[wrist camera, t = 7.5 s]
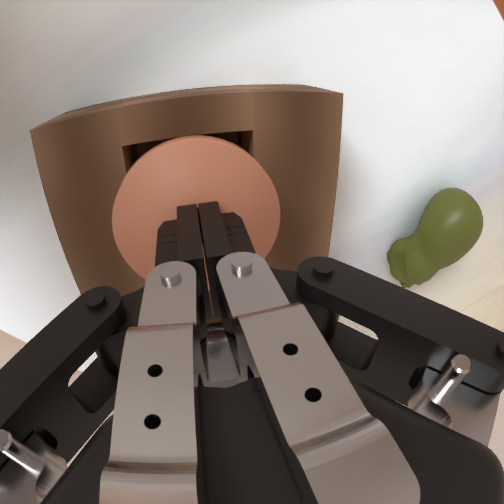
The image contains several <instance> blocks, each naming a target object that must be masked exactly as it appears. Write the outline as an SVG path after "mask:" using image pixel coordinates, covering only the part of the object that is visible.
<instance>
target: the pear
mask: <svg viewBox="0 0 504 504" xmlns="http://www.w3.org/2000/svg"><path fill="white" fill-rule="evenodd" d="M482 228H483V216H482V212H481V209H480V207H479V205H478V203H477V202H476V201H475V199H474V198H473V197H472V196H471V195H470V194H468V193H467V192H465V191H463V190H461V189H458V188H446V189H443V190H441V191H439V192H438V193H436V194H435V195H434V196H433V197H432V199H431V200H430V201H429V203H428V205H427V206H426V208H425V211H424V213H423V215H422V218H421V220H420V223H419V226H418V228H417V230H416V231H415V232H414V234H413V235H412V236H410V237H407V238H403V239H400V240H397V241H396V242H394V243H393V245H392V246H391V249H390V250H389V251H388V252H387V257H388V261H389V262H390V269H391V274H392V275H393V277H395V278H396V279H397V280H399V281H400V283H401V285H402V287H403V288H405V287H408V288H410V287H411V286H412V285H414V284H417V285H419V284H421V283H424V282H426V281H428V280H429V279H431V278H432V277H433V276H434V275H435V274H436V273H437V272H438V271H439V270H440V269H442V268H444V267H447V266H449V265H451V264H453V263H455V262H456V261H458V260H459V259H460V258H462V257H463V256H464V255H465V254H466V253H467V252H468V251H469V250H470V249H471V248H472V247H473V246H474V245H475V243H476V242H477V240H478V239H479V237H480V235H481V232H482Z"/></svg>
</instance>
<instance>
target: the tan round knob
mask: <svg viewBox="0 0 504 504" xmlns="http://www.w3.org/2000/svg"><path fill="white" fill-rule="evenodd" d="M213 201H218V204H219V207H220V211H221V213H230V212H234V213H236V214H237V215H238V216H240V217H241V218H242V220H243V222H244V225H245V227H246V230H247V233H248V235H249V237H250V239H251V242H252V244H253V247H254V249H255V252H256V254H257V255H259V256H261V257H262V258H264V259H265V257H266V256H267V254H268V253H269V252H270V250H271V248H272V246H273V244H274V242H275V239H276V237H277V234H278V230H279V226H280V203H279V198H278V195H277V192H276V189H275V187H274V185H273V183H272V181H271V179H270V177H269V176H268V175H267V173H266V172H265V171H264V169H263V168H262V167H261V166H260V164H259V163H258V162H257V161H256V160H255V159H254V158H253V157H252V156H251V155H250V154H249V153H248V152H246V151H245V150H244V149H242V148H241V147H239V146H237V145H235V144H234V143H232V142H229V141H226V140H224V139H220V138H216V137H211V136H201V135H195V136H184V137H179V138H175V139H172V140H169V141H166V142H163V143H161V144H159V145H157V146H155V147H153V148H152V149H151V150H149V151H148V152H146V153H145V154H144V155H142V156H141V157H140V158H139V159H138V160H137V161H136V162H135V163H134V165H133V166H132V167H131V168H130V169H129V171H128V173H127V174H126V176H125V177H124V180H123V182H122V184H121V186H120V189H119V191H118V193H117V196H116V198H115V202H114V206H113V212H112V229H113V234H114V239H115V242H116V245H117V247H118V249H119V251H120V253H121V255H122V257H123V258H124V259H125V261H126V262H127V264H128V265H129V266H130V267H131V268H132V269H133V270H134V271H135V272H136V273H137V274H139V275H140V276H141V277H143V278H144V279H146V278H147V275H148V274H149V272H150V271H151V270H152V269H153V268H155V255H156V246H157V245H156V242H157V231H158V228H159V227H160V226H161V224H162V223H163V222H164V221H169V220H176V219H177V206H182V205H190V204H196V206H197V213H198V221H199V228H200V234H201V226H200V218H199V209H198V203H205V202H213ZM201 241H202V235H201ZM202 248H203V243H202ZM203 255H204V250H203ZM204 262H205V257H204ZM205 269H206V263H205ZM206 276H207V270H206ZM207 284H208V291H210V288H209V282H208V276H207Z"/></svg>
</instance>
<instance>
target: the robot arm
mask: <svg viewBox="0 0 504 504" xmlns="http://www.w3.org/2000/svg"><path fill="white" fill-rule="evenodd" d="M198 209H199V218H200V226H201V234H200V228H199V221H198V213H197V206H196V204H190V205H182V206H177V219H176V220H169V221H164V222H163V223H162V224H161V226H160V227H159V228H158V231H157V242H156V245H157V246H156V255H155V268H153V269H152V270H151V271H150V272H149V274H148V275H147V278H146V283H145V286H144V287H142V288H141V289H139V290H137V291H134V292H132V293H129V294H126V295H124V296H121V295H120V293H119V291H118V290H117V289H115V288H113V287H109V286H99V287H95V288H92V289H90V290H88V291H86V292H85V293H83V294H82V295H81V296H80V297H78V298H77V299H76V300H75V301H74V302H73V303H71V304H70V305H69V306H68V307H67V308H66V309H65V310H63V311H62V312H61V313H60V314H59V315H58V316H57V317H55V318H54V319H53V320H52V321H51V322H50V323H49V324H48V325H47V326H45V327H44V328H43V329H42V330H41V331H40V332H39V333H38V334H37V335H36V336H35V337H34V338H32V339H31V340H30V341H29V342H28V343H27V344H26V345H25V346H24V347H23V348H22V349H21V350H20V351H19V352H18V353H17V354H16V355H15V356H14V357H13V358H12V359H11V360H10V361H9V362H7V363H6V365H4V367H2V368H1V369H0V504H504V471H503V467H502V465H501V463H500V461H499V459H498V458H497V456H496V455H495V454H494V453H493V452H492V450H491V449H489V448H488V443H489V440H490V437H491V433H492V429H493V425H494V421H495V416H496V412H497V407H498V402H499V397H500V393H501V391H502V390H503V389H504V332H501V331H499V330H497V329H495V328H493V327H490V326H488V325H486V324H484V323H482V322H479V321H477V320H475V319H473V318H471V317H468V316H466V315H464V314H462V313H459V312H457V311H455V310H453V309H450V308H448V307H446V306H443V305H441V304H439V303H437V302H434V301H432V300H430V299H427V298H425V297H423V296H421V295H418V294H416V293H414V292H411V291H409V290H407V289H404V288H402V287H400V286H397V285H395V284H393V283H390V282H388V281H385V280H383V279H381V278H378V277H376V276H374V275H371V274H369V273H366V272H364V271H362V270H359V269H357V268H354V267H352V266H350V265H347V264H345V263H342V262H340V261H337V260H335V259H332V258H329V257H322V256H317V257H310V258H307V259H305V260H303V261H302V262H301V263H300V264H299V266H298V269H297V271H288V270H278V269H274V268H271V267H269V266H268V264H267V262H266V261H265V259H264V258H262V257H261V256H259V255H257V254H256V252H255V249H254V247H253V244H252V242H251V239H250V237H249V235H248V233H247V230H246V227H245V225H244V222H243V220H242V218H241V217H240V216H238V215H237V214H236V213H234V212H230V213H221V211H220V207H219V204H218V201H213V202H205V203H198ZM201 235H202V241H201ZM202 243H203V248H202ZM203 250H204V255H203ZM204 257H205V262H204ZM205 263H206V269H205ZM206 270H207V276H208V282H209V288H210V294H211V299H212V305H213V311H214V316H215V318H219V317H222V322H223V328H224V336H225V340H226V343H227V346H228V349H229V352H230V356H231V359H232V362H233V365H234V368H235V371H236V374H237V377H238V380H239V383H238V384H236V385H234V386H231V387H226V388H220V387H211V382H210V368H209V352H208V338H207V332H208V326H207V320H206V319H213V318H212V311H211V304H210V298H209V291H208V284H207V276H206ZM339 315H341V316H343V317H345V318H347V319H349V320H352V321H354V322H356V323H358V324H360V325H362V326H364V327H366V328H368V329H370V330H372V331H373V332H374V333H375V334H376V335H377V337H378V340H376V339H373V338H371V337H369V336H367V335H365V334H363V333H361V332H359V331H357V330H355V329H353V328H351V327H348V326H346V325H344V324H342V323H340V322H338V319H339ZM94 352H96V354H97V356H98V357H97V358H96V359H95V360H94V361H93V362H92V363H91V364H90V365H89V366H88V368H87V369H86V370H85V371H84V372H83V373H82V374H81V375H80V376H79V377H78V378H77V379H76V380H75V381H74V382H73V383H72V384H71V385H70V386H69V387H68V382H69V379H70V377H71V376H72V374H73V373H74V372H75V371H76V370H77V369H78V368H79V367H80V366H81V365H82V364H83V363H84V362H85V361H86V360H87V359H88V358H89V357H90V356H91V355H92V354H93V353H94ZM392 399H393V400H392ZM394 400H395V401H394ZM396 401H397V402H396ZM398 402H399V403H398ZM400 403H401V404H400ZM402 404H403V405H402ZM404 405H405V406H404ZM406 406H407V407H406ZM113 410H114V414H113V415H112V416H110V417H109V418H108V419H107V420H106V421H105V422H104V423H103V424H102V422H103V421H104V420H105V419H106V418H107V417H108V415H109V414H110V413H111V412H112V411H113ZM101 424H102V425H101ZM100 425H101V427H99V426H100ZM98 427H99V429H98V430H97V431H96V429H97V428H98ZM95 431H96V433H95V434H94V435H93V436H92V438H91V439H90V440H89V441H88V443H87V444H86V445H85V446H84V448H83V449H82V450H81V452H80V453H79V454H78V455H77V457H76V458H75V459H74V460H73V462H72V463H71V464H70V466H69V467H67V463H68V462H69V461H70V460H71V459H72V458H73V456H74V455H75V454H76V453H77V452H78V450H79V449H80V448H81V447H82V446H83V445H84V443H85V442H86V441H87V440H88V439H89V438H90V436H91V435H92V434H93V433H94V432H95Z"/></svg>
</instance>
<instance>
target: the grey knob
mask: <svg viewBox="0 0 504 504" xmlns="http://www.w3.org/2000/svg"><path fill="white" fill-rule="evenodd" d="M207 326H208V332H207V338H208V352H209V368H210V382H211V387H220V388H226V387H231V386H234V385H236V384H238V383H239V380H238V377H237V374H236V371H235V368H234V365H233V362H232V359H231V356H230V352H229V349H228V346H227V343H226V340H225V336H224V328H223V322H219V323H213V324H207Z"/></svg>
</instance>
